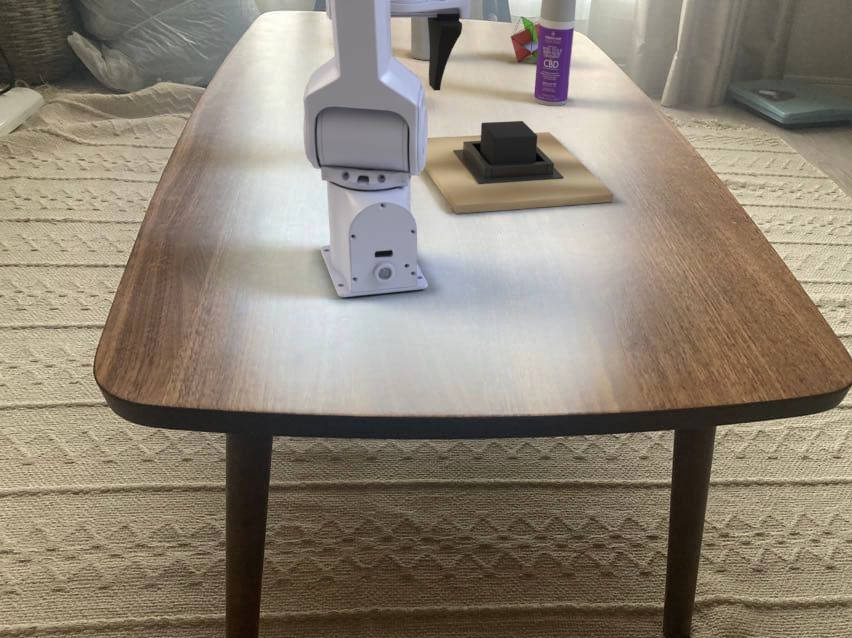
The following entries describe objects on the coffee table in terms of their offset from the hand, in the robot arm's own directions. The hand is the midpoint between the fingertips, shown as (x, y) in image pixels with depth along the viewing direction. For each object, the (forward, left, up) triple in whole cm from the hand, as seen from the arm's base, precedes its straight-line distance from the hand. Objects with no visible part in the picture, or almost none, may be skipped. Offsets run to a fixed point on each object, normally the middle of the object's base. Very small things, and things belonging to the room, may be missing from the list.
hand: (399, 88), depth 100 cm
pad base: (-2, -12, -9) cm, 15 cm away
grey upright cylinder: (+46, -15, -10) cm, 49 cm away
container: (+23, -27, -10) cm, 37 cm away
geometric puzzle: (+42, -31, -10) cm, 53 cm away
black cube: (-2, -12, -8) cm, 15 cm away
